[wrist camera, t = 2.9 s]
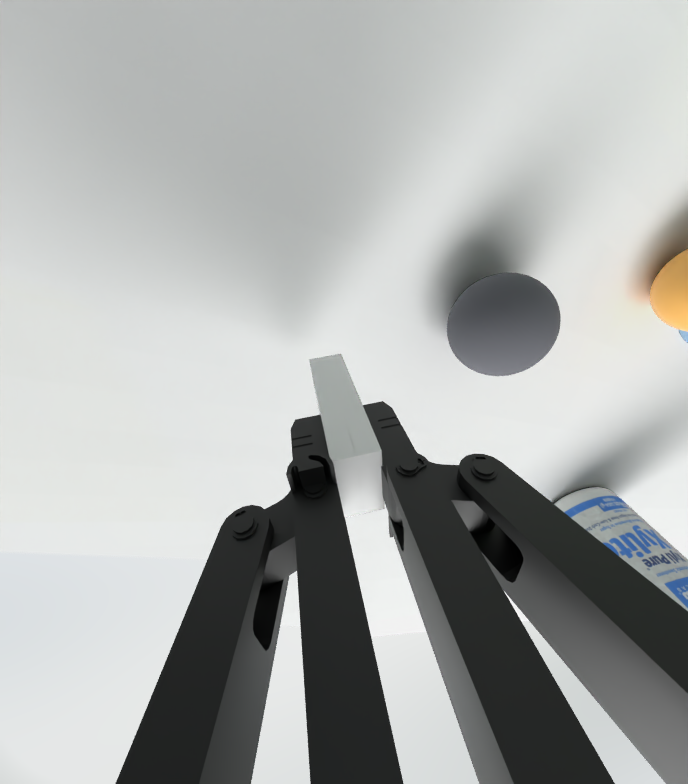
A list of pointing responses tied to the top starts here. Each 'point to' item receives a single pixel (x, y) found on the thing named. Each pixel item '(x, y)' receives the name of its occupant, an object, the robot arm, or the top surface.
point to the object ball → (672, 292)
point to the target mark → (684, 335)
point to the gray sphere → (503, 324)
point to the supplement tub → (630, 539)
